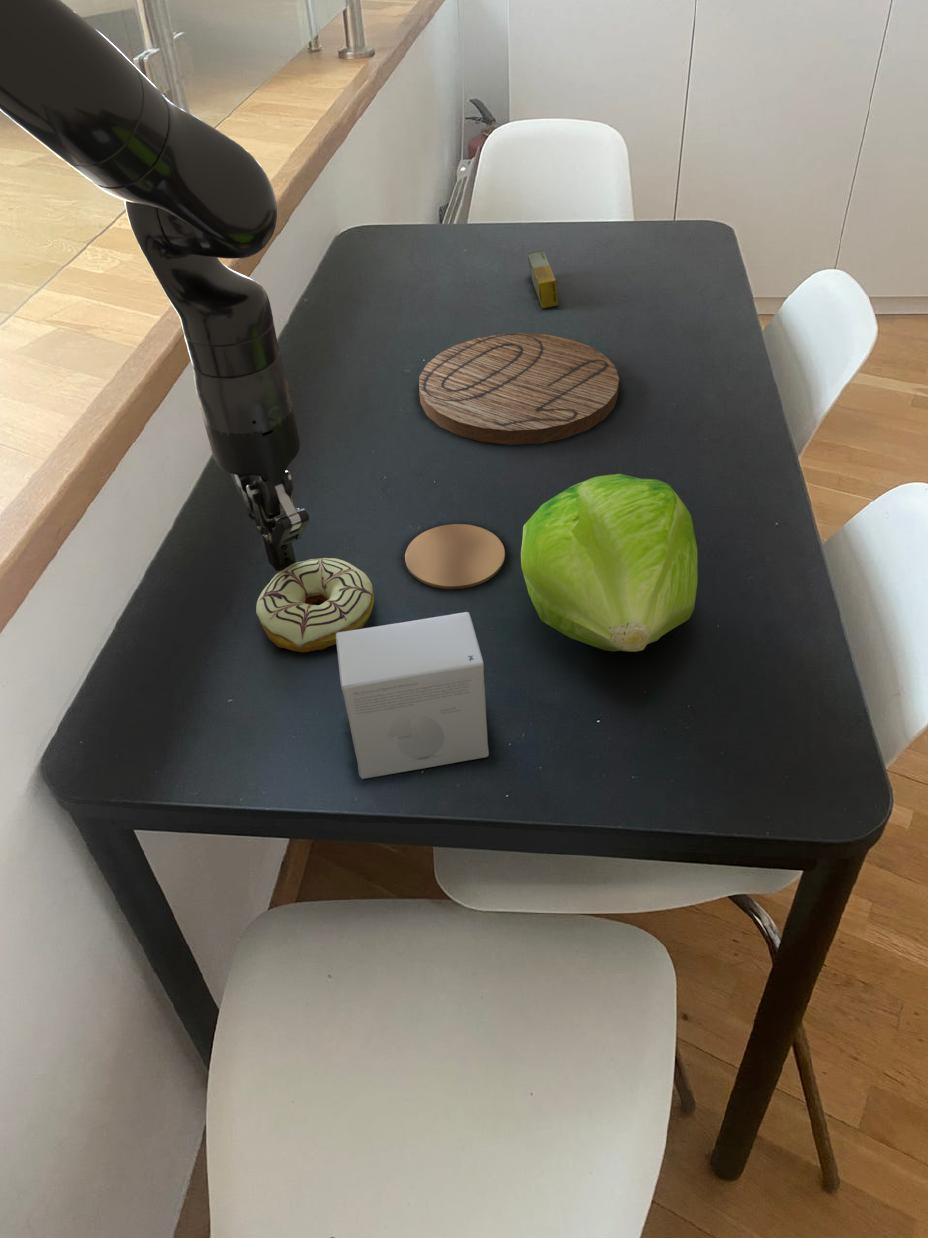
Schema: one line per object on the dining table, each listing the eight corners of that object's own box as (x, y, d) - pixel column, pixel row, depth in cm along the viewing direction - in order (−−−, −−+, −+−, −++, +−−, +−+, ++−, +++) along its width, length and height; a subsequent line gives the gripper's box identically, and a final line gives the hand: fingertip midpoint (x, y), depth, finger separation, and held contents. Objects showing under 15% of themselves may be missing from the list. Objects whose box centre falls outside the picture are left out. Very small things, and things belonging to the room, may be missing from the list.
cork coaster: (424, 600, 88) (424, 597, 87) (392, 541, 94) (392, 538, 94) (520, 573, 90) (520, 569, 90) (482, 517, 97) (482, 514, 97)
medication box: (529, 278, 142) (526, 252, 140) (546, 274, 142) (544, 249, 140) (541, 309, 133) (538, 281, 131) (559, 305, 133) (557, 278, 131)
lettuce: (551, 720, 76) (508, 584, 69) (545, 591, 93) (510, 471, 86) (731, 686, 73) (706, 540, 66) (692, 559, 90) (668, 431, 83)
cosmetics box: (474, 699, 78) (469, 607, 71) (489, 758, 73) (486, 665, 66) (351, 720, 77) (334, 628, 70) (359, 781, 72) (341, 689, 65)
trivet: (653, 375, 118) (655, 362, 116) (549, 467, 103) (549, 452, 102) (493, 330, 129) (493, 318, 128) (379, 407, 115) (377, 394, 113)
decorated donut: (239, 620, 87) (230, 590, 84) (330, 567, 92) (324, 537, 89) (304, 675, 81) (297, 645, 78) (397, 616, 86) (393, 585, 83)
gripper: (175, 389, 80) (219, 545, 92) (238, 456, 72) (277, 618, 84) (254, 363, 83) (287, 517, 95) (323, 424, 75) (350, 585, 86)
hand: (283, 564), depth 89 cm, fingers closed
